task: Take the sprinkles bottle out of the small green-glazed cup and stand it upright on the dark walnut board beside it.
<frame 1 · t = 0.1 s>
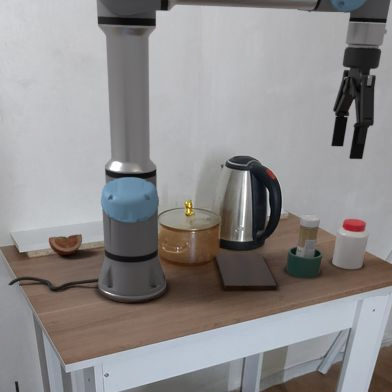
hand: (346, 152, 127), 28 cm above the table, tool pointing down, fingers open, 13 cm apart
board: (243, 272, 136), on the table
pill bottle: (347, 264, 144), on the table
cup: (302, 271, 138), on the table
fruit slice: (67, 255, 142), on the table
sprinkles bottle: (302, 270, 138), resting on cup
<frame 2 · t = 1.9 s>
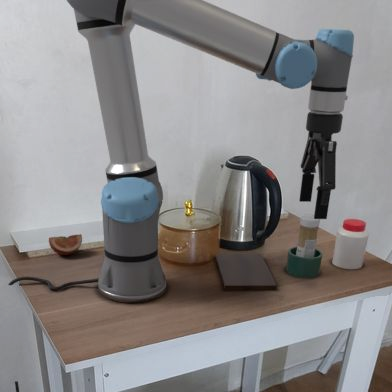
hand: (312, 209, 130), 16 cm above the table, tool pointing down, fingers open, 13 cm apart
nothing on the table moved.
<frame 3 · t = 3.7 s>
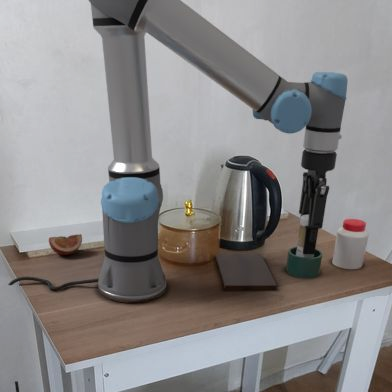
hand: (305, 249, 135), 6 cm above the table, tool pointing down, fingers closed on sprinkles bottle, 5 cm apart
sprinkles bottle: (302, 270, 138), resting on cup, touching gripper
everything else where it was.
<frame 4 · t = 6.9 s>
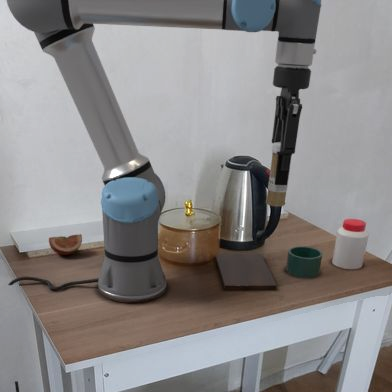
hand: (278, 181, 125), 22 cm above the table, tool pointing down, fingers closed on sprinkles bottle, 5 cm apart
sprinkles bottle: (275, 205, 128), point 17 cm above the table, touching gripper
everything else where it was.
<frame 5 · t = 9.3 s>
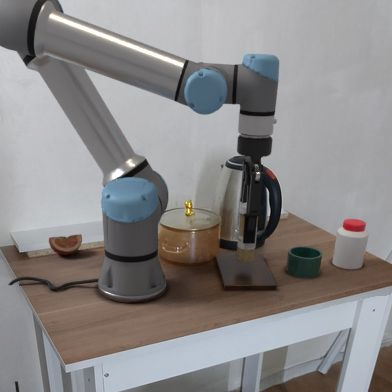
hand: (246, 238, 131), 9 cm above the table, tool pointing down, fingers closed on sprinkles bottle, 5 cm apart
sprinkles bottle: (245, 260, 134), point 3 cm above the table, touching gripper
everything else where it was.
when the fingers open (6 cm above the table, at t = 10.3 s): sprinkles bottle stays where it is, resting on board.
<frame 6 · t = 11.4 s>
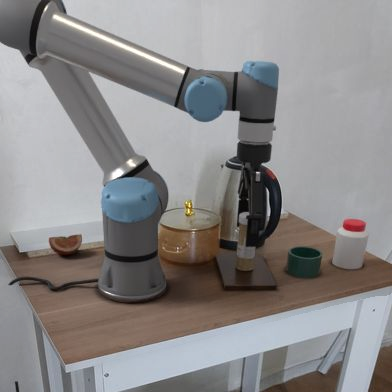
hand: (246, 236, 131), 9 cm above the table, tool pointing down, fingers open, 13 cm apart
sprinkles bottle: (244, 269, 135), point 1 cm above the table, touching board
everything else where it was.
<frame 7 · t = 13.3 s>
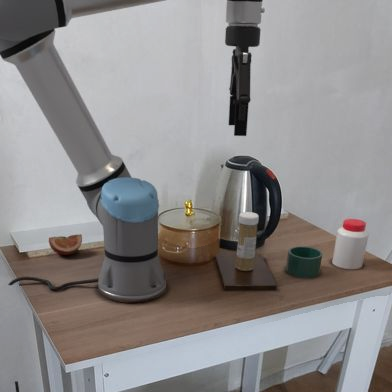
hand: (237, 130, 130), 31 cm above the table, tool pointing down, fingers open, 13 cm apart
nothing on the table moved.
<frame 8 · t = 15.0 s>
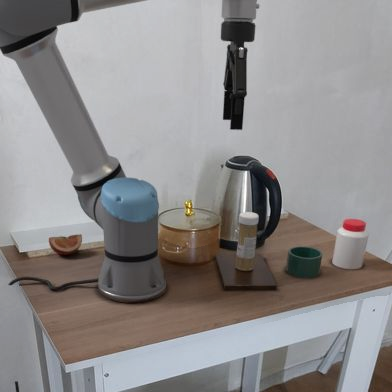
hand: (232, 124, 132), 32 cm above the table, tool pointing down, fingers open, 13 cm apart
nothing on the table moved.
at the end: sprinkles bottle inside the target area (0.1 cm from its centre), point 1.0 cm above the table; sprinkles bottle tilted 0°; the gripper is holding nothing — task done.
